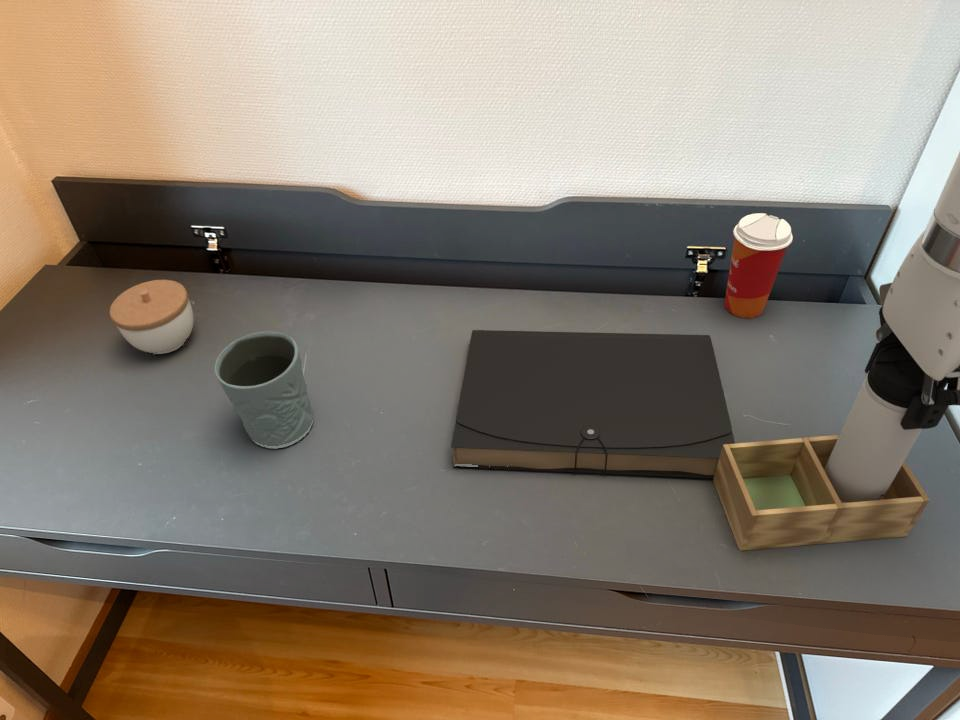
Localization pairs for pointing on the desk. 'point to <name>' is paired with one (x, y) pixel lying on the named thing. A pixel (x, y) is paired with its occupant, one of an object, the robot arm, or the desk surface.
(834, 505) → the storage box
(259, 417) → the green ceramic cup
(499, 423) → the file folder
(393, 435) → the desk surface
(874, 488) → the travel mug
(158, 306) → the trinket box
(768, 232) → the paper cup
